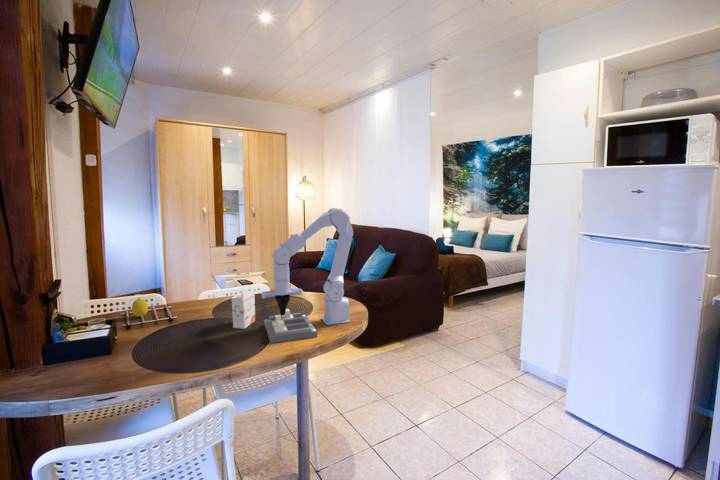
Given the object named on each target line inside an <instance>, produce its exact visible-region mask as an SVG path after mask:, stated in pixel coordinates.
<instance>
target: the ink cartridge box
mask: <svg viewBox="0 0 720 480" xmlns="http://www.w3.org/2000/svg"><path fill="white" fill-rule="evenodd" d="M255 304H256V302H255V289H254V285H253V284H252V285H250V286H248V287H245V288H243V289H242V290H241V292H240V293H238V294H236V295H234V296H233V297H231V308H232V309H231V313H232V328H233V329H241V330H245V329H246V328H248V327H249V326H250V325H252V324H253V323H255V322H256V305H255Z"/></svg>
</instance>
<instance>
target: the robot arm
mask: <svg viewBox="0 0 720 480" xmlns="http://www.w3.org/2000/svg"><path fill="white" fill-rule="evenodd" d="M332 226H333V227H334V228H335V229H336V231H337V233H338V234H339V235H338V240H337V244H336V248H335V251H334V257H333V260H332V261H333V262H332V265H331V269H330V273H329V274H328V276H327V279H326V281H325V282H324V284H323V287H322V288H323V292H324V293H325V295H324V298H323V302H324V303H323V306H324V307H323V308H324V309H323V311H324V313H323V314H324V316H322V317H320V318H321V320H322V321H323V322H324V323H325V325H326V326H329V325H330V326H331V325H337V324H343V323H344V324H345V323H350V302H349V299H348V297H344V294H345V289H344V284H345V283H344V282H345V281H344V273H345V269H346V267H347V266H346V265H347V263H348V256H349V254H350V253H349V252H350V248H351V245H352V240H353V236H354V229H353V226H352V223H351V217H350V215H349V214H348V213H347V211H345V210H344V209H341V208H336V207H333V208H329V209H328V211H325V212H324V213H322V215H320V216H318V217H317V219H315V220H314V221H313V222H312V223H311V224H310V225H308V226H307V227H306V228H305V229H304V230H303V231H301V232H300V233H298V232H295V233H294V234H293V233H291V234H290V235H289V238H288V239H287V240H286V241H284V242H283V243H282V242H281V243H280V244H279V246H277V247H276V248H274V249H273V252H272V254H271V255H272V256H271V257H272V258H273V290H268V291H261V299H267V298H274V299H275V301H276V303H277V305H278V309H279V315H281V316H283V315H285V310H286V309H287V308H288V307H287V306H288V304H289V302H290V300H291V296H296V295H297V296H298V295H299V296H302V295H303V291H302V288H290V287H291V286H290V285H291V284H290V283H291V282H290V265H289V264H290V263H289V262H290V260H291V257H292V256H294V255H295V254H297V253H298V252H299V251H300V250H302V248H304V247H305V246H306V245H307V241H308V239H309V238H311V237H312V236H313V235H315V234H316V233H318V232H319V231H320V230H322V229H323V228H326V227H327V228H328V227H332Z"/></svg>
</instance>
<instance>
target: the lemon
mask: <svg viewBox="0 0 720 480" xmlns="http://www.w3.org/2000/svg"><path fill="white" fill-rule="evenodd" d="M148 311H149V304H148V302H147V301H146V299H144V298H141V297H138V298H137V299H136V300H134V301H133V302H132V304H131V312H132V314H133V315H134V316H136V317H138V318H140V317H139V316H140V315H142V317H144V316H145V315H147V313H148Z"/></svg>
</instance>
